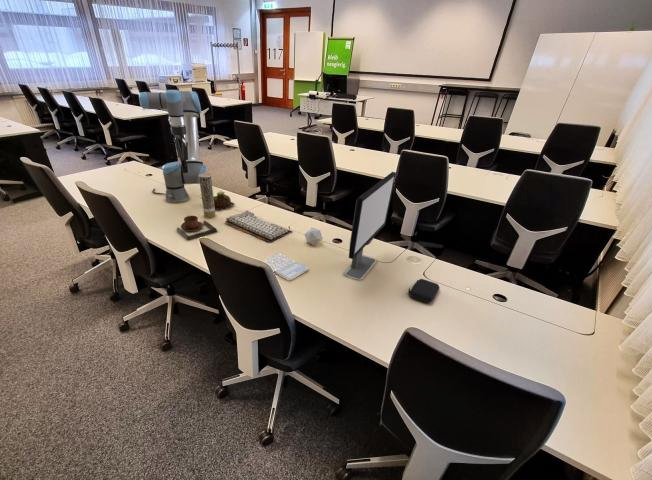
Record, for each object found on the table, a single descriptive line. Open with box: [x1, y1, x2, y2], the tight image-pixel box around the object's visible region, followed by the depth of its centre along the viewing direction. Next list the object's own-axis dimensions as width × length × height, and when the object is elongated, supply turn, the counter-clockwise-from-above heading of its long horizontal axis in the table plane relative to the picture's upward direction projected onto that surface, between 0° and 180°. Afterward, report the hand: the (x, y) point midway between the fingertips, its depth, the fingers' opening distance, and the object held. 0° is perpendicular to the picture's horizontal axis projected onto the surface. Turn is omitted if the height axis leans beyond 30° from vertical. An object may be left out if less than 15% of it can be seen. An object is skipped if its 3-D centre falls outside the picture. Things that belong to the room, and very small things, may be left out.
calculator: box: [262, 252, 309, 281], centre depth 155 cm, size 13×20×2 cm, turn 47°
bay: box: [176, 220, 218, 241], centre depth 183 cm, size 14×17×2 cm
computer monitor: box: [344, 171, 397, 281], centre depth 146 cm, size 41×8×40 cm, turn 148°
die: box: [304, 226, 323, 247], centre depth 174 cm, size 8×9×10 cm
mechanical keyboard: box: [224, 210, 293, 243], centre depth 189 cm, size 38×19×3 cm, turn 50°
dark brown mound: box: [213, 190, 235, 211], centre depth 212 cm, size 17×16×10 cm
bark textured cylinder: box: [199, 172, 216, 219], centre depth 194 cm, size 7×7×25 cm
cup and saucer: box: [180, 215, 204, 232], centre depth 185 cm, size 12×12×6 cm
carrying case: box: [407, 278, 441, 304], centre depth 141 cm, size 11×3×15 cm
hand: (185, 172), depth 183 cm, fingers closed
